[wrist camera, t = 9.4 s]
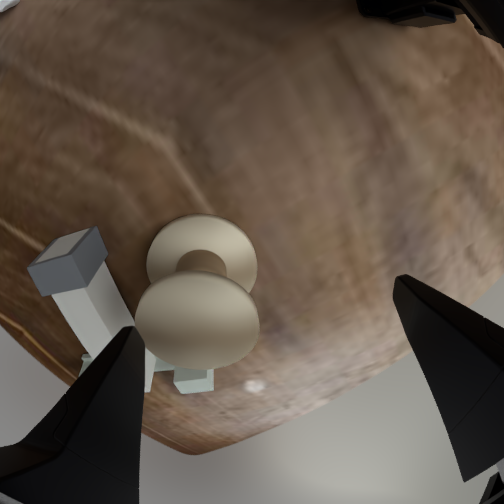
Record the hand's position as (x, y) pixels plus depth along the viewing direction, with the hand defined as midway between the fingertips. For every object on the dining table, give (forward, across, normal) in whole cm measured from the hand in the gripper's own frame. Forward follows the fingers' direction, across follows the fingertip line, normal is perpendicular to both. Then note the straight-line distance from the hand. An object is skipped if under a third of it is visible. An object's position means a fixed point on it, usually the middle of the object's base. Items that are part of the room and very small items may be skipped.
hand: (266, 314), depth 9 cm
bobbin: (+11, +4, +5) cm, 13 cm away
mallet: (+11, +13, +7) cm, 18 cm away
